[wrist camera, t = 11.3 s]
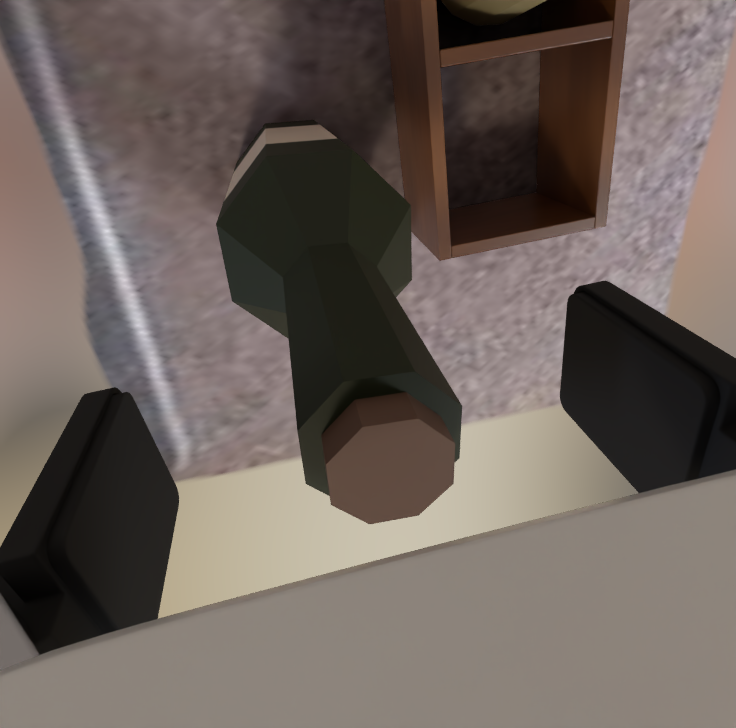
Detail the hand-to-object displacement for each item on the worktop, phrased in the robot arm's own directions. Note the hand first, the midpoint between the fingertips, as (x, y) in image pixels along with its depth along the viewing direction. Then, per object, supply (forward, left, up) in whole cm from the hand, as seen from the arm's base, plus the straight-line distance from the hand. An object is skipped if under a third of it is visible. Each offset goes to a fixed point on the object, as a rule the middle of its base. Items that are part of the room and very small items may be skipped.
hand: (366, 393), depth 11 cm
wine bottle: (0, 0, -28) cm, 28 cm away
